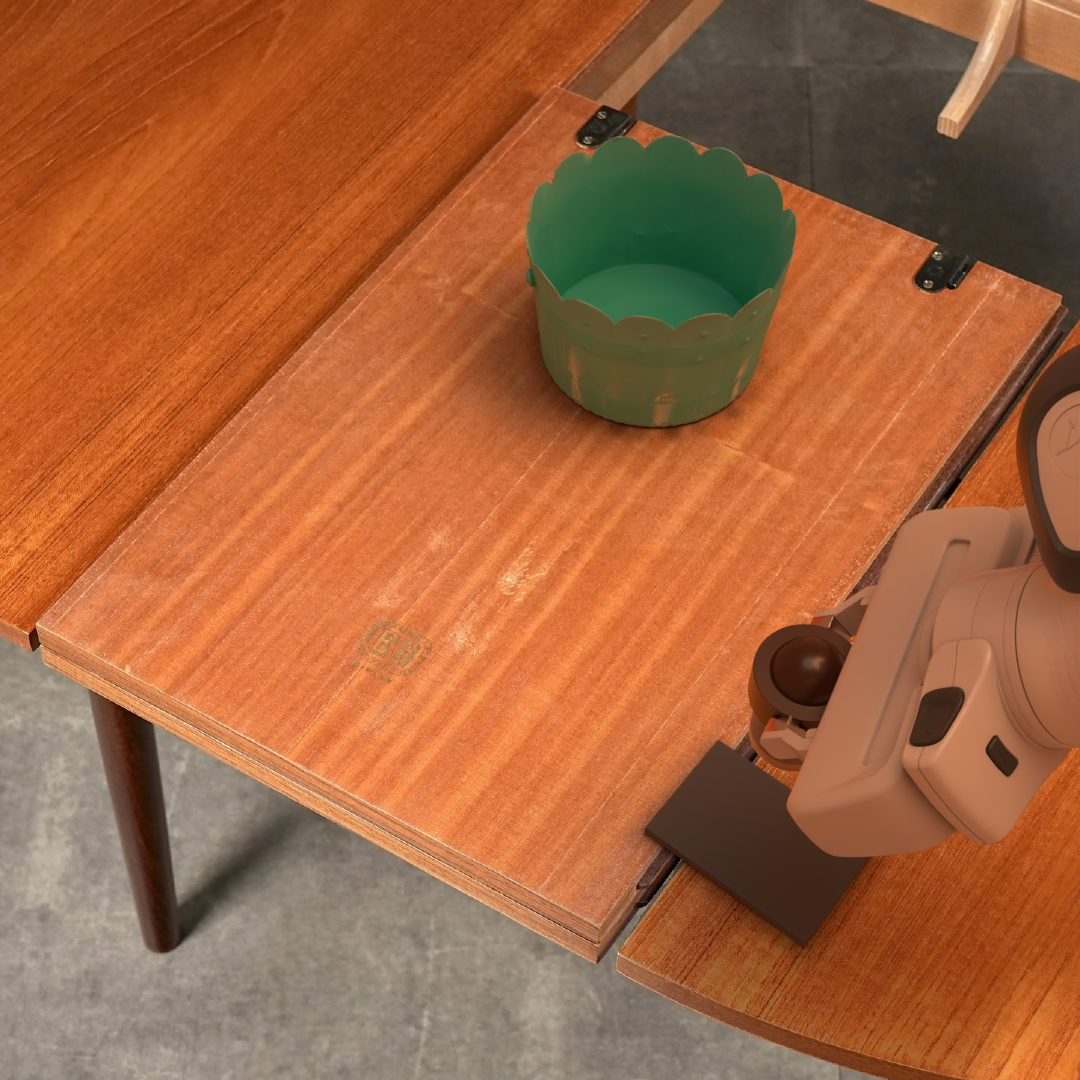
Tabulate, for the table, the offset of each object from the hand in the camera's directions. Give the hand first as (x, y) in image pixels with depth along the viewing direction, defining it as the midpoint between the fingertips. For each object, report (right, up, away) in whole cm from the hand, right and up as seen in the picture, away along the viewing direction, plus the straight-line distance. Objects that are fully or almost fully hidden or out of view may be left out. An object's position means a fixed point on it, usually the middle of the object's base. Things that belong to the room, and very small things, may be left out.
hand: (793, 684), depth 92 cm
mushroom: (0, -3, +4) cm, 5 cm away
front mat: (0, -11, +15) cm, 18 cm away
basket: (-5, +23, +38) cm, 45 cm away
